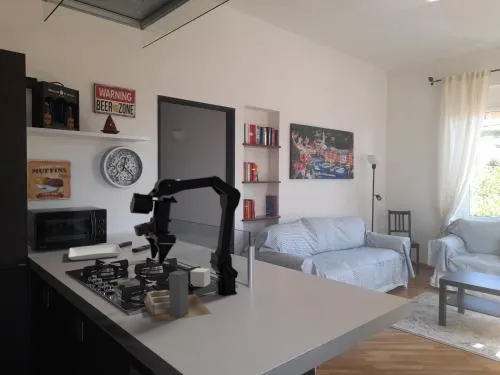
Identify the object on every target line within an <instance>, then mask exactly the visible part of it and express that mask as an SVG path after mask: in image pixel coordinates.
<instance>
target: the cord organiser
mask: <svg viewBox="0 0 500 375" xmlns="http://www.w3.org/2000/svg"><path fill="white" fill-rule="evenodd" d="M143 302H144V305H145V307H146V310H147V313H148V315H149V318H150V321H151V322H152V323H158V322H165V321H171V320H179V319H185V318H193V317H197V316H198V317H199V316H205V315H212V312H211V311H210V310H209V308H208V307H207V306H206V305H205V304H204V302H203V301H202V300H201V299H200V298H199V297H198V296H197V295H196V294H195V293H194V294H188V314H186V315H185V316H183V317H181V318H179V317H174V316H170V291H169V290H168V289H166V290H156V291H148V292H146V300H144V301H143Z"/></svg>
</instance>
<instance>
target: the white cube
mask: <svg viewBox="0 0 500 375" xmlns="http://www.w3.org/2000/svg"><path fill="white" fill-rule="evenodd" d="M191 284H192V285H193V286H192V287H201V288H205V287H206V286H208V285H210V284H211V269H210V268H204V267H196V268H194V269H192V270H190V285H191Z"/></svg>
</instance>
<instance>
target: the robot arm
mask: <svg viewBox="0 0 500 375" xmlns="http://www.w3.org/2000/svg"><path fill="white" fill-rule="evenodd" d="M153 186H154V187H153V188H152V189H151V190H150V191H149V192H148V194H145V193H140V192H139V193H138V192H133V194H132V197H131V201H130V205H129V213H130V214H135V215H138V214H139V215H150V213H152V216H151V217H150V218H149V221H148V222H145V221H144V223H142V222H141V223H140V224H135V225H134V226H133V229H134V233H135V235H136V236H137V237H142V236H144V239H145V240H146V241H147V242H148V243H149V250H150V257H151V259H152V260H153V259H154V260H155V259H156V257H158V265H160V264H161V265H162V264H163V263H164V261H165V259H166V257H168V254H169V253H170V251H171V249H172V248H173V247H174V246H175V244H177V237H176V235H174V234H173V233H171V231H170V230H169V227H170V223H172V218H170V217H171V209H172V204H178V200H177V199H176V198H175V196H174V195H175V194H177V193H180V192H183V191H186V190H187V191H189V190H196V189H202V188H203V189H204V188H211V189H212V190H213V191H214V193H216V194H217V195H218V196H219V205H220V210H221V215H220V221H219V222H220V225H219V230H218V239H217V247H216V250H215V251H214V252H211V253H210V260H209V264H210V268H211V270H213V271H214V272H215V274H216V275H217V277H216V278H217V279H216V281H215V292H216V293H217V294H218V295H219V296H221V297H222V296H223V297H224V296H231V295H237V294H238V292H237V291H236V288H237V287H236V284H237V283H236V282H237V281H236V279H237V278H238V276H239V272H238V270H236V268H234V267H233V258H232V254H231V251H230V250H231V241H232V234H233V232H232V231H233V225H234V217H235V211H236V210H237V208H238V206H239V203H240V201H241V198H242V197H241V196H242V194H241V191H240V190H239V189H238V188H236V187H233V186H232V185H231V184H229V183H227V182H226V181H224V180H223V179H221V178H220V176H218V175H210V176H206V177H205V176H204V177H196V178H188V179H174V178H160V179H157V180H156V181H155V183H154V185H153ZM164 196H165V197H164ZM169 196H170V197H169ZM155 198H156V199H155ZM157 254H158V255H157Z"/></svg>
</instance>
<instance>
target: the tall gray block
mask: <svg viewBox="0 0 500 375" xmlns="http://www.w3.org/2000/svg"><path fill="white" fill-rule="evenodd" d="M168 278H169V280H168V281H169V283H168V284H169V291H170V316H174V317H179V318H180V319H182V318H181V317H183V316H185V315H186V314H188V295H189V272H188V271H184V270H183V271H182V270H175V271H172V272H169V274H168Z"/></svg>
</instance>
